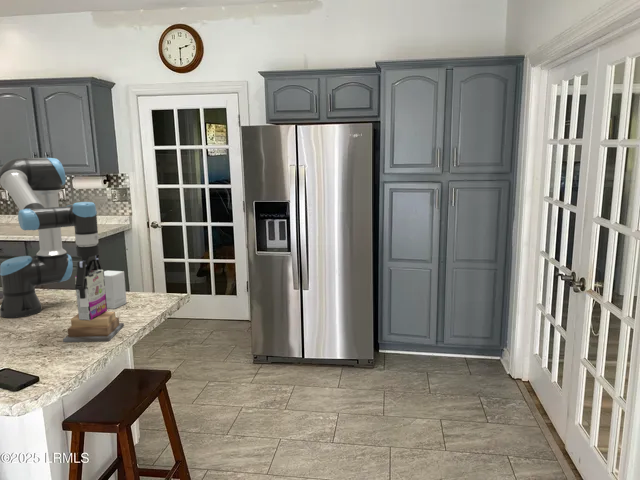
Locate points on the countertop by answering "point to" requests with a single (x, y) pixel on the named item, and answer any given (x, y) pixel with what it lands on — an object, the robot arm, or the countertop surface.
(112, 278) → the supplement box
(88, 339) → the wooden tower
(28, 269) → the robot arm
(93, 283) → the candy bar box
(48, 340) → the countertop surface
